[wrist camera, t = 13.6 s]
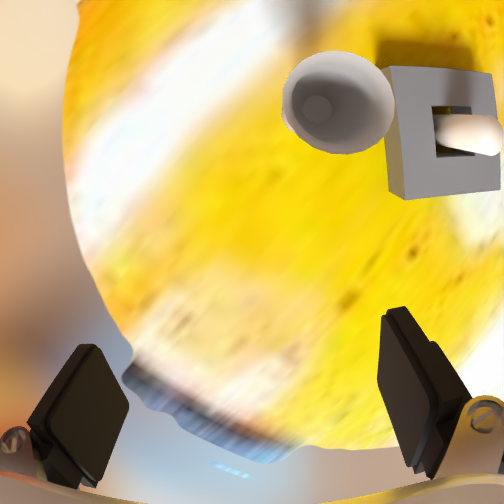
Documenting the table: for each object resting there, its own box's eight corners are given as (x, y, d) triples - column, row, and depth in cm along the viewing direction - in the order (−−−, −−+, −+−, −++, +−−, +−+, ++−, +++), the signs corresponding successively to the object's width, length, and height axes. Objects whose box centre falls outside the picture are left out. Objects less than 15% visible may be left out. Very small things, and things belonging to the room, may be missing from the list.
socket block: (374, 72, 32) (389, 65, 27) (470, 76, 31) (491, 73, 26) (389, 191, 37) (404, 200, 33) (479, 182, 36) (500, 190, 31)
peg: (419, 114, 34) (474, 114, 22) (445, 114, 33) (502, 116, 22) (423, 145, 35) (477, 156, 24) (447, 144, 35) (504, 155, 23)
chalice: (330, 84, 33) (386, 50, 16) (337, 139, 35) (399, 151, 19) (267, 89, 34) (274, 54, 17) (276, 145, 36) (290, 160, 19)
